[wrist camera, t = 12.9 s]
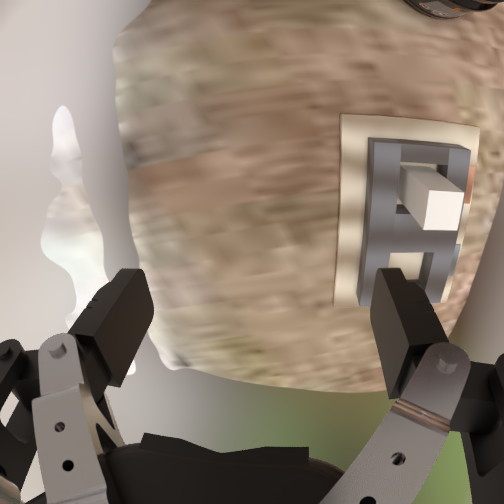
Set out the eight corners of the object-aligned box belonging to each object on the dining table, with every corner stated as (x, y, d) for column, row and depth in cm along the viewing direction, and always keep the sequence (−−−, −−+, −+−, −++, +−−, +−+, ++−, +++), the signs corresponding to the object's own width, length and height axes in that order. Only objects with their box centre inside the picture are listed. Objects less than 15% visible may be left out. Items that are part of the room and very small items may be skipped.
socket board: (340, 113, 33) (346, 117, 29) (475, 126, 31) (492, 132, 27) (332, 303, 46) (335, 321, 42) (443, 298, 43) (452, 314, 40)
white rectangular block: (399, 164, 34) (429, 190, 26) (429, 166, 33) (464, 192, 26) (396, 196, 36) (423, 229, 28) (426, 198, 35) (457, 230, 28)
